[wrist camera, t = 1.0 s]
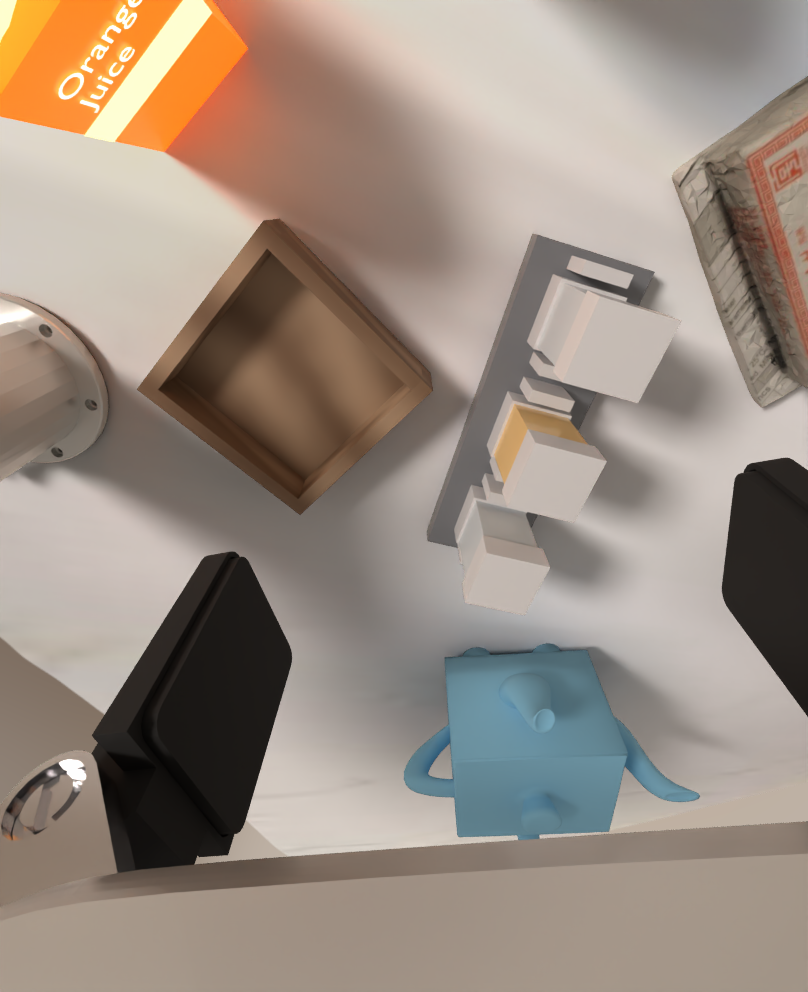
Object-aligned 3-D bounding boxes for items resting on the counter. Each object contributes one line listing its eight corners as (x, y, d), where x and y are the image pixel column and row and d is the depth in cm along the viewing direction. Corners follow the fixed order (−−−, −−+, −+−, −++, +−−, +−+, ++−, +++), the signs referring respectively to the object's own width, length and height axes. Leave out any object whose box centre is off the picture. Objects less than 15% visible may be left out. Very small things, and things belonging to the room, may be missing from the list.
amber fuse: (540, 458, 38) (574, 523, 31) (486, 444, 38) (507, 507, 30) (564, 406, 36) (606, 461, 28) (507, 390, 36) (535, 442, 28)
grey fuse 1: (503, 540, 42) (524, 615, 35) (454, 528, 42) (464, 602, 34) (522, 497, 40) (550, 567, 32) (471, 484, 40) (486, 553, 32)
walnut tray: (308, 489, 42) (300, 514, 38) (162, 372, 37) (136, 389, 33) (430, 373, 37) (432, 390, 33) (279, 218, 32) (263, 220, 28)
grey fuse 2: (586, 358, 34) (637, 403, 27) (526, 341, 34) (562, 382, 26) (615, 293, 32) (681, 321, 25) (553, 273, 32) (600, 296, 24)
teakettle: (391, 684, 54) (386, 832, 41) (516, 583, 47) (556, 725, 34) (512, 751, 60) (540, 898, 48) (640, 671, 53) (713, 820, 40)
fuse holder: (512, 550, 45) (522, 583, 41) (426, 530, 44) (428, 562, 40) (645, 269, 33) (676, 277, 29) (532, 233, 32) (549, 237, 28)
